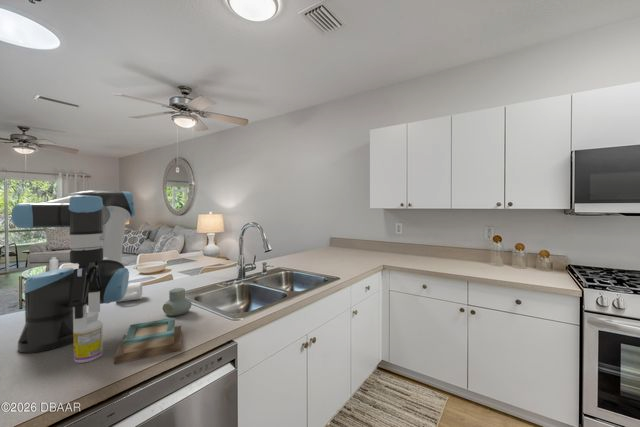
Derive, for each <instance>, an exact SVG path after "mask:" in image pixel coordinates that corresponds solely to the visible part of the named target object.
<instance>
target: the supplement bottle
mask: <svg viewBox="0 0 640 427" xmlns="http://www.w3.org/2000/svg"><path fill="white" fill-rule="evenodd" d="M103 330H104V329H103V322H102V321H101V320H100V319H99V313H98V312H89V311H88V312H87V328H86V329H81V330H75V331H73V342H72V343H73V361H74V362H75V363H77V364H82V363H84V364H85V363H88V362H92V361H95V360H96V359H98V358H100V357H101V356H102V355H103V353H104V338H103V336H104V335H103V334H104V333H103Z"/></svg>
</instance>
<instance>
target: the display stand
mask: <svg viewBox="0 0 640 427" xmlns="http://www.w3.org/2000/svg"><path fill="white" fill-rule="evenodd" d="M117 347H118V348H117V350H116V352H115V354H114V356H113V358H114V359H113V360H114V361H113V364H114V365H116V364H120V363H121V364H122V363H125V362H131V361H135V360H140V359H144V358H150V357H155V356H160V355H164V354H169V353H175V352H179V351H182V325H176V319H175V317H172V318H165V319H160V320H158V319H157V320H152V321H147V322H140V323H134V324H130V325H129V328H128V330H127V333H126V334H124V335H123V337H122V339H121V341H120V344H119V345H118V346H117Z"/></svg>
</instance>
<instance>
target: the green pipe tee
mask: <svg viewBox="0 0 640 427" xmlns="http://www.w3.org/2000/svg"><path fill="white" fill-rule="evenodd" d="M192 306H193V305H192V301H191V300H190V299H189V298H187V297H186V289H185V288H183V287H176V288H173V289H170V290H169V291H168V300H167V301H165V303H164V304H163V305H162V311H163V313H164V314H166V315H167V316H169V317H170V316H171V317H176V316H181V315H184V314H185V313H187V312H189V311H190V310H191V308H192Z"/></svg>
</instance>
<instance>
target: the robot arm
mask: <svg viewBox="0 0 640 427" xmlns="http://www.w3.org/2000/svg"><path fill="white" fill-rule="evenodd" d="M135 213H136V212H135V205H134V196H133V193H132V192H131V191H123V190H120V191H119V190H118V191H117V190H83V191H77V192H71V193H67V194H64V195H61V196H60V197H59V198H55V199H51V200H48V201H42V202H19V203H15V205H13V207H12V209H11V212H10V215H11V216H10V217H11V221H12V222H11V223H12V224H13V225H14V226H15V227H16V228H18V229H30V230H32V229H44V228H69V236H68V237H69V249H71V250H70V251H69V263H71V264H75V265H78V268H73V267H69V268H68V267H66V268H65V267H64V268H59V269H54V270H49V271H45V272H41V273H36V274H34V275H32V276H29V277H28V278H27V279H26V280H25V283H24V284H25V285H24V291H23V293H24V309H25V310H24V316H25V319H24V320H25V323H24V326H23V329H22V331H21V334H20V335H19V338H18V341H17V351H18V352H20V353H24V354H25V353H26V354H27V353H29V354H30V353H31V354H32V353H33V354H34V353H39V352H40V353H41V352H45V351H50V350H53V349H57V348H60V347H63V346H66V345H69V344H70V343H71V344H72V343H73V331H75V330H81V329H86V328H87V313H89V312H98V314H99V313H100V312H101V304H102V305H103V304H110V303H117V302H116V301H120V300H121V299H122V298H123V297H124V296H125V294H126V291H127V287H128V284H129V278H130V271H129V269H128V268H126V266H125V265H124V264H123V262H121V261H122V255H123V254H122V253H123V246H124V238H125V230H126V223H128V222H129V221H130V219H131V218H134V217H135V216H136V214H135ZM87 307H88V308H87ZM87 309H88V310H87Z"/></svg>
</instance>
